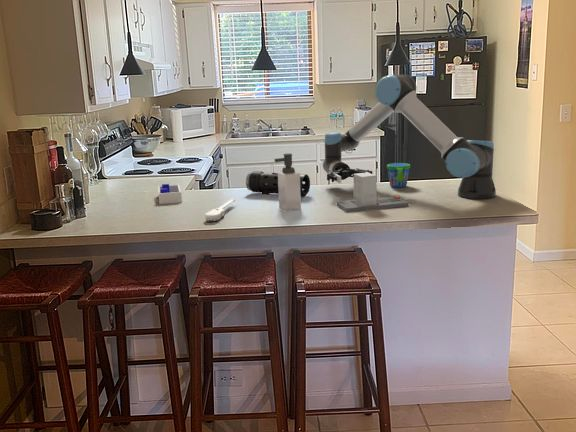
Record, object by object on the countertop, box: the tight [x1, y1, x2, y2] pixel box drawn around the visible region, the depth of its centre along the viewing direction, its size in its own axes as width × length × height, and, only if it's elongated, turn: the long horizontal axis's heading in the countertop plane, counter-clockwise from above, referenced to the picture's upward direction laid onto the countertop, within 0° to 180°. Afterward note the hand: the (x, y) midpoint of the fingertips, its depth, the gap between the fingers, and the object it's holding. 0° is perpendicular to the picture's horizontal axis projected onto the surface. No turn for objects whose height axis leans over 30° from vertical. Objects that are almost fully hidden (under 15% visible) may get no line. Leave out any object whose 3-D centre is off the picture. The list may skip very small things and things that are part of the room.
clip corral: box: [157, 184, 183, 205], centre depth 256 cm, size 10×18×4 cm, turn 13°
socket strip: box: [336, 194, 410, 213], centre depth 230 cm, size 26×12×2 cm, turn 103°
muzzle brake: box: [245, 170, 311, 198], centre depth 255 cm, size 10×28×10 cm, turn 64°
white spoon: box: [204, 198, 237, 222], centre depth 227 cm, size 28×6×3 cm, turn 167°
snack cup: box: [386, 162, 411, 188], centre depth 264 cm, size 16×10×10 cm
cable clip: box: [160, 183, 170, 193], centre depth 256 cm, size 12×4×6 cm, turn 7°
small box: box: [353, 173, 378, 207], centre depth 228 cm, size 8×6×13 cm
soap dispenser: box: [274, 153, 302, 212], centre depth 228 cm, size 6×9×22 cm
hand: (356, 178), depth 236 cm, fingers open, 13 cm apart
